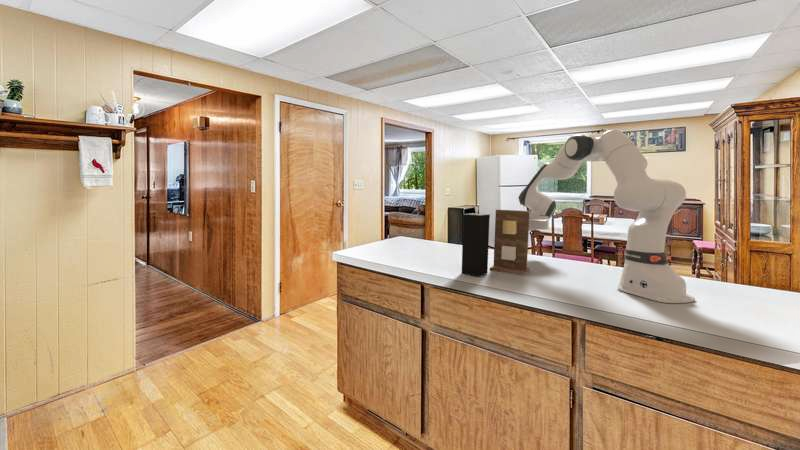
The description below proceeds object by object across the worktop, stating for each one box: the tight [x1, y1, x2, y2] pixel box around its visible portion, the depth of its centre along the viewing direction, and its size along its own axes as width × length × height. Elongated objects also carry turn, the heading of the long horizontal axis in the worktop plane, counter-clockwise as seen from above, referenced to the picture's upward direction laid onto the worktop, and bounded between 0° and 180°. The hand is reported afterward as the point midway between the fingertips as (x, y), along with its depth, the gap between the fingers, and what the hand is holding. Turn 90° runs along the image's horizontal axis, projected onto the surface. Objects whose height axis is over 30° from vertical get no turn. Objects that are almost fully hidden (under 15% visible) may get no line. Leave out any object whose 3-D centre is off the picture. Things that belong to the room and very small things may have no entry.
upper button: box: [502, 220, 517, 235], centre depth 154 cm, size 7×6×6 cm
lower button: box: [501, 246, 516, 261], centre depth 155 cm, size 7×6×6 cm
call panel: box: [489, 208, 530, 276], centre depth 154 cm, size 10×14×26 cm
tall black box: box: [461, 206, 491, 277], centre depth 148 cm, size 8×8×28 cm
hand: (521, 224), depth 166 cm, fingers closed
